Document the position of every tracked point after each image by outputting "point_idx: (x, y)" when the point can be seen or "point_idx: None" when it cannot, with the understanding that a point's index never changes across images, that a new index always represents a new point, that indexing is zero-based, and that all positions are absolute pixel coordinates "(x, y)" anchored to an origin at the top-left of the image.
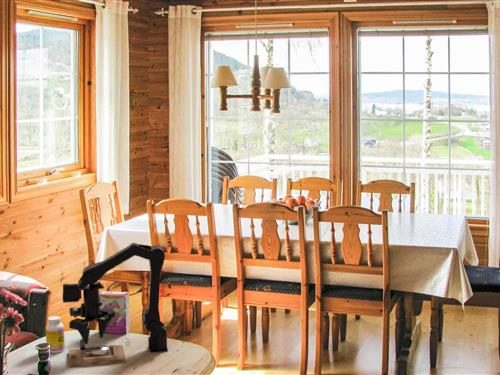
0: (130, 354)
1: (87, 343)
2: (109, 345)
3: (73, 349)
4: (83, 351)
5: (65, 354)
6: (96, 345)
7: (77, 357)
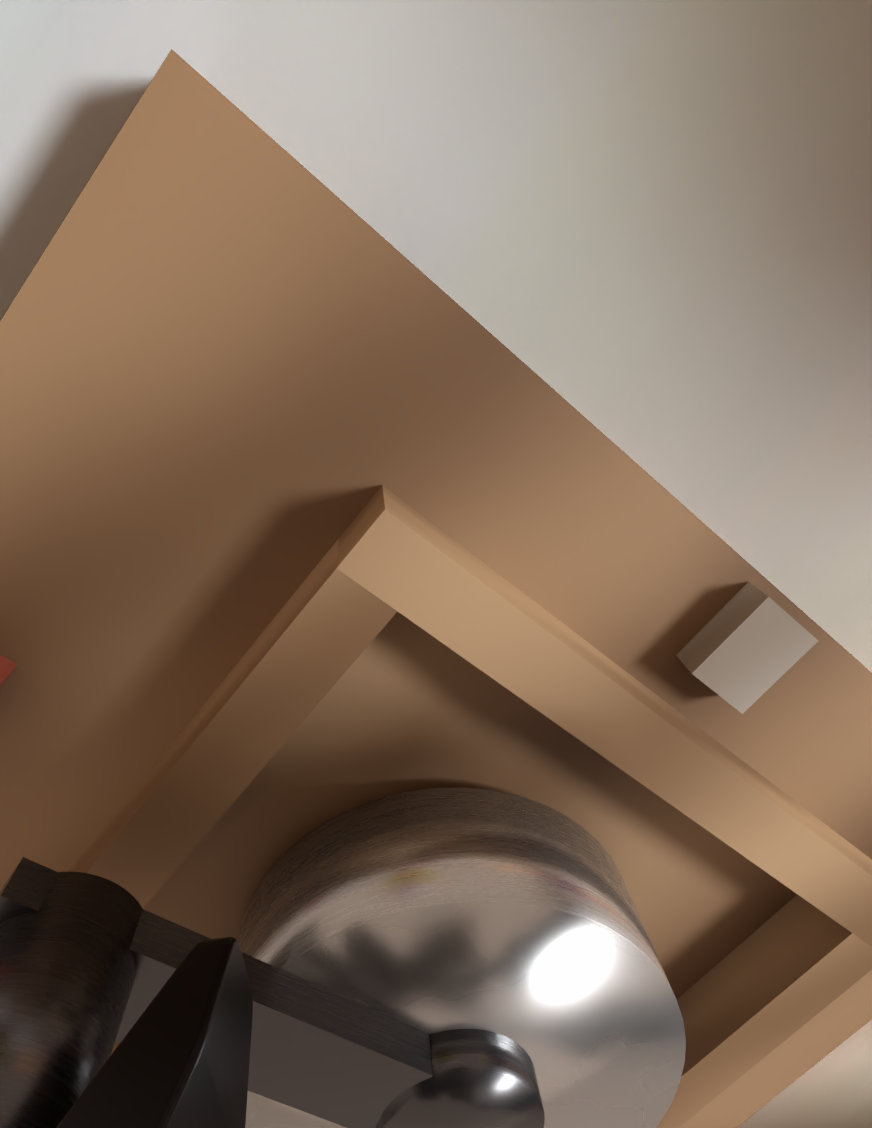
0: (823, 1064)
1: (239, 1042)
2: (853, 867)
3: (272, 172)
4: (207, 750)
5: (34, 97)
6: (537, 933)
7: (7, 738)
